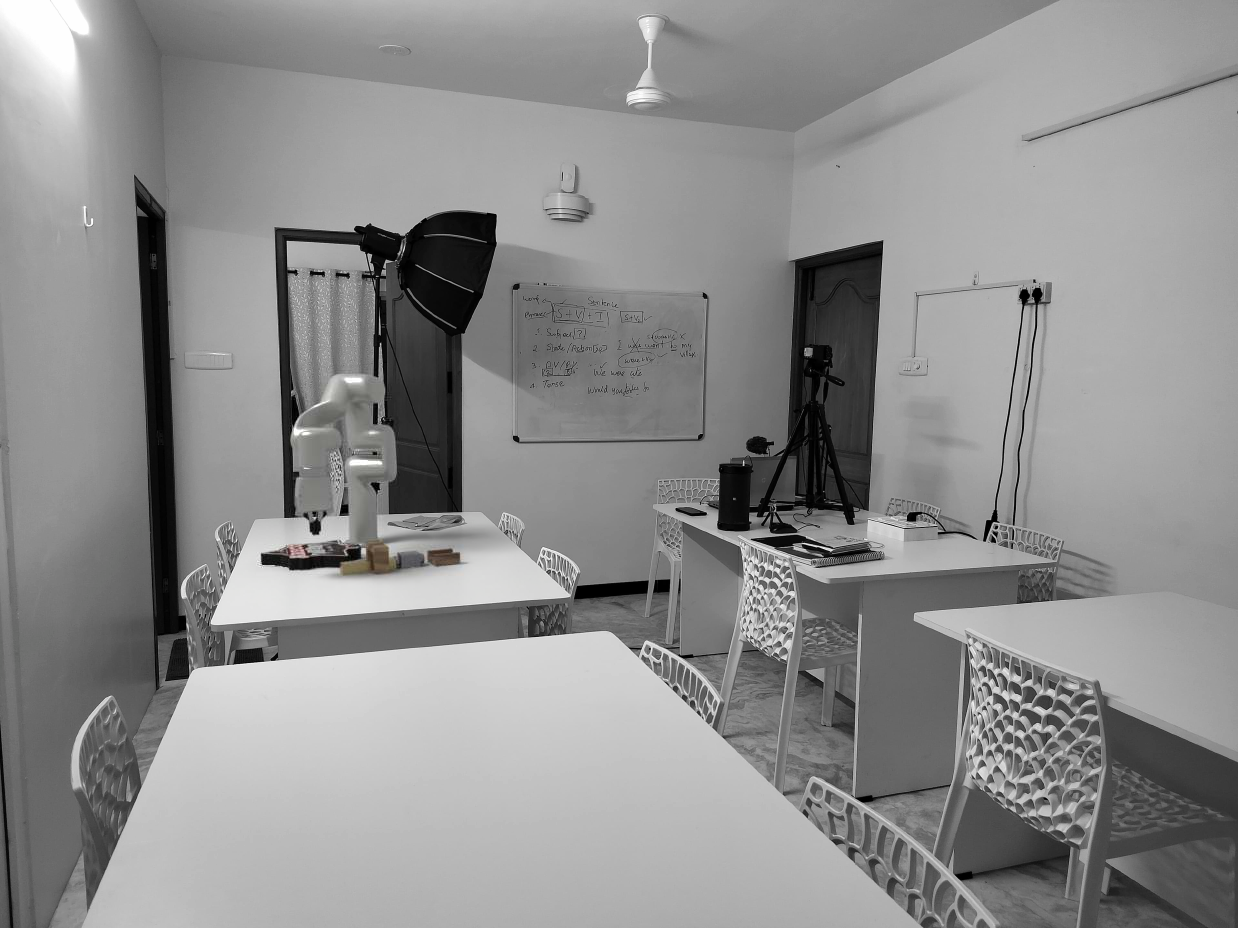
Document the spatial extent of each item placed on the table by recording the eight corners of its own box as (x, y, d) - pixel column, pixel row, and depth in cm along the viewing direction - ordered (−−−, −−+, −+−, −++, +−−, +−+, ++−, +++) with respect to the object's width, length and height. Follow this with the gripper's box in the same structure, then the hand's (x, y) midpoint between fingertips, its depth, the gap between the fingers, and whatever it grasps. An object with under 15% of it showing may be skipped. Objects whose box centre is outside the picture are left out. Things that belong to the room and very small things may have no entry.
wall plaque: (366, 554, 253) (261, 562, 241) (367, 567, 254) (262, 576, 241) (355, 538, 279) (259, 545, 266) (355, 550, 279) (260, 557, 266)
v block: (427, 561, 261) (427, 550, 261) (451, 558, 265) (451, 548, 265) (435, 566, 254) (435, 555, 254) (460, 563, 258) (460, 552, 258)
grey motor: (396, 569, 250) (396, 555, 250) (392, 566, 254) (392, 553, 253) (425, 566, 255) (425, 552, 254) (421, 563, 258) (420, 550, 258)
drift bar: (342, 575, 242) (342, 564, 242) (340, 573, 245) (340, 562, 245) (396, 569, 250) (395, 558, 250) (393, 567, 253) (393, 556, 253)
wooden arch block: (366, 566, 253) (365, 541, 252) (379, 565, 255) (378, 540, 254) (375, 574, 243) (375, 548, 242) (389, 572, 245) (388, 546, 244)
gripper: (336, 469, 244) (338, 529, 246) (283, 472, 236) (286, 534, 239) (342, 472, 237) (344, 534, 240) (287, 476, 230) (290, 539, 232)
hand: (315, 534), depth 239 cm, fingers closed
